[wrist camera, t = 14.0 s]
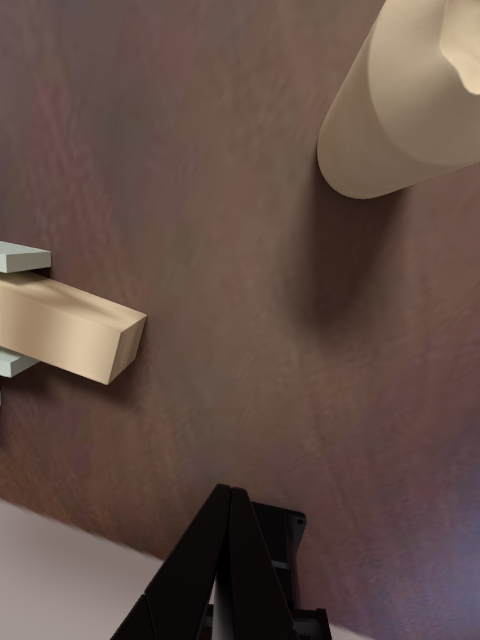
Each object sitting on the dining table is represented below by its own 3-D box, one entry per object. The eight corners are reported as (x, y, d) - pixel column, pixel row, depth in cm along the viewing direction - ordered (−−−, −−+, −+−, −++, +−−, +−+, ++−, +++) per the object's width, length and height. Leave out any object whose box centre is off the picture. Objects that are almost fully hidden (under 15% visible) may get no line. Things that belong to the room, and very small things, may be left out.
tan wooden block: (3, 309, 21) (-55, 325, 17) (9, 262, 20) (-52, 268, 16) (136, 358, 21) (107, 385, 17) (148, 314, 20) (120, 332, 16)
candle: (373, 219, 17) (513, 197, 8) (296, 165, 17) (339, 69, 7) (441, 126, 16) (722, -47, 6) (358, 64, 15) (519, -229, 6)
